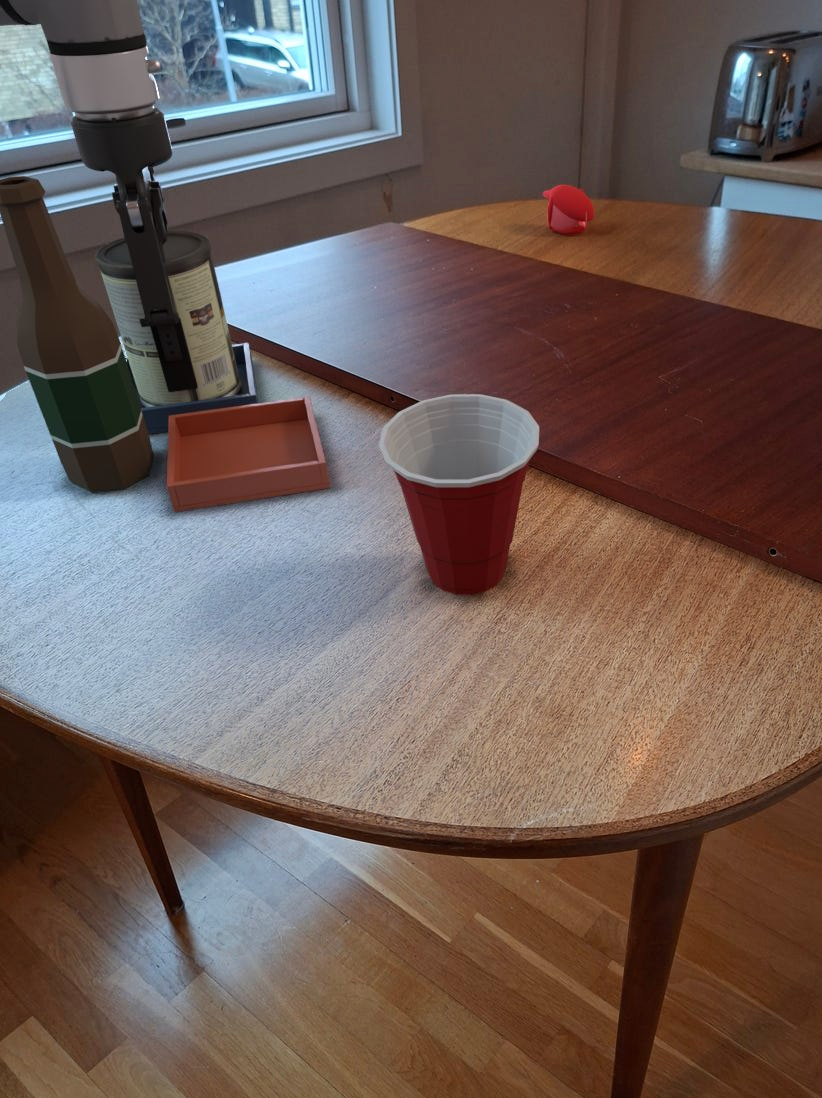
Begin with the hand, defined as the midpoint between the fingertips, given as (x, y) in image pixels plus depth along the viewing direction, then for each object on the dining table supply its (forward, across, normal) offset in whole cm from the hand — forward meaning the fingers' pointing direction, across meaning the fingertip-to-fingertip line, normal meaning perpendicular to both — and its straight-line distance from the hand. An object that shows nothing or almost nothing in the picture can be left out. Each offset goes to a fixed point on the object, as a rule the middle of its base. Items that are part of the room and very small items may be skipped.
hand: (183, 366), depth 87 cm
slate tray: (+4, 0, 0) cm, 4 cm away
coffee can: (+3, 0, 0) cm, 3 cm away
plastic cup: (+4, -37, -20) cm, 42 cm away
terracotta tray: (+4, -15, -5) cm, 16 cm away
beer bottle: (+4, -13, +7) cm, 15 cm away
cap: (+4, +40, -54) cm, 67 cm away
